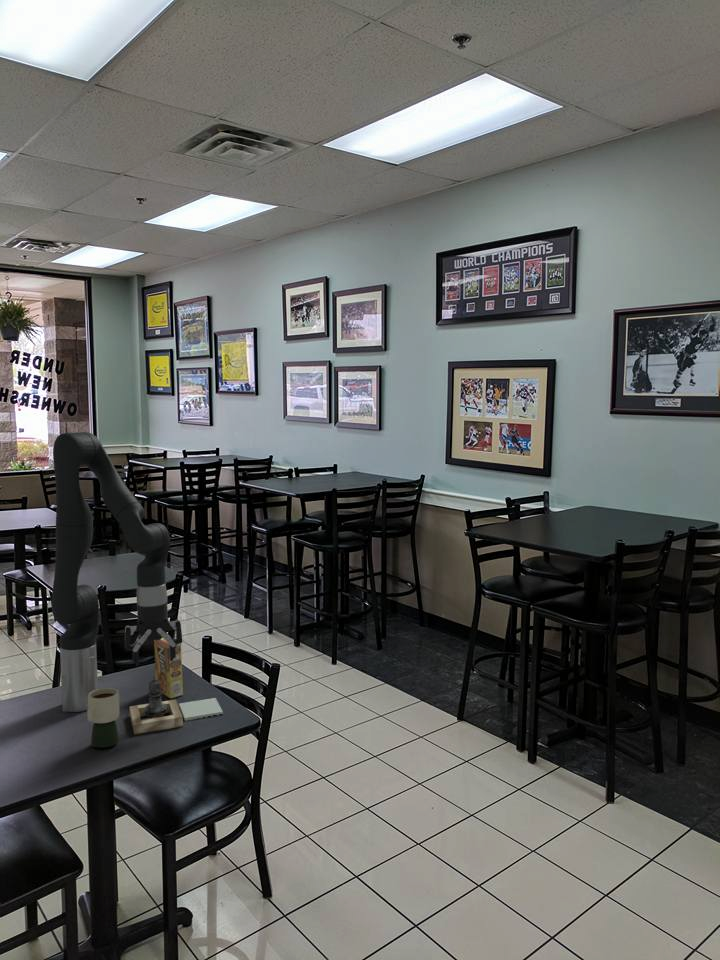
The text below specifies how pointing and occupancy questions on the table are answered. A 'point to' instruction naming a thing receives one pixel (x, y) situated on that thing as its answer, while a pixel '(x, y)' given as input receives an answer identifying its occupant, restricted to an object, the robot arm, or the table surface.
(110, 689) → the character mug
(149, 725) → the beige square frame
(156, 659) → the candy box
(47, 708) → the table surface
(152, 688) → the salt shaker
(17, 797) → the table surface
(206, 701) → the coaster
